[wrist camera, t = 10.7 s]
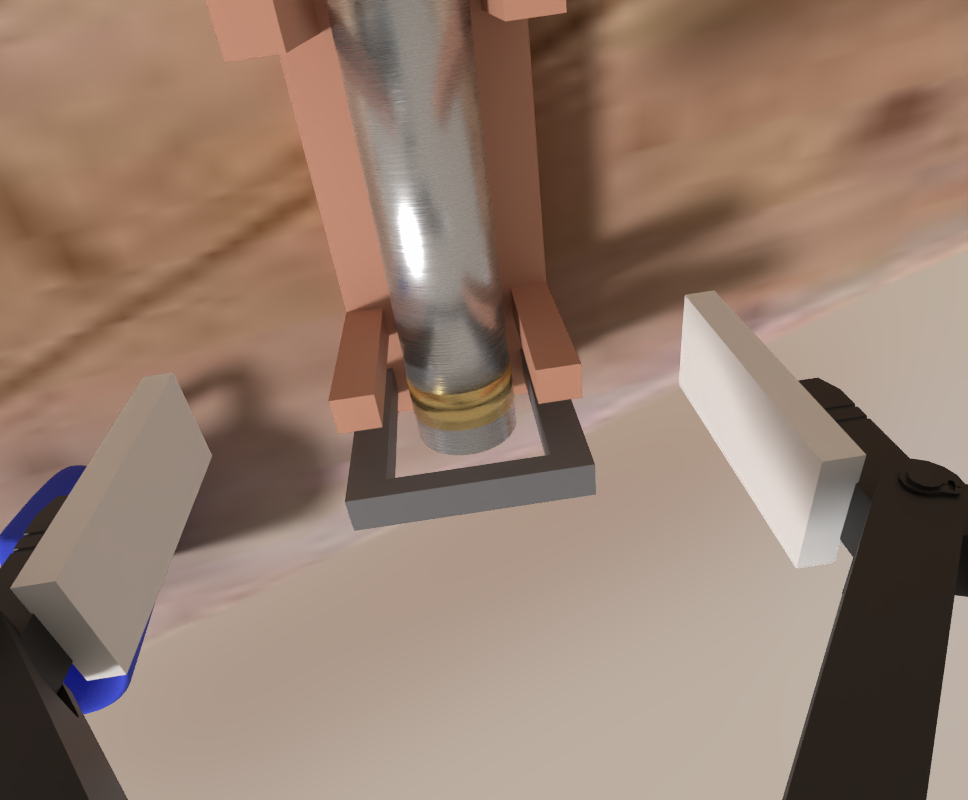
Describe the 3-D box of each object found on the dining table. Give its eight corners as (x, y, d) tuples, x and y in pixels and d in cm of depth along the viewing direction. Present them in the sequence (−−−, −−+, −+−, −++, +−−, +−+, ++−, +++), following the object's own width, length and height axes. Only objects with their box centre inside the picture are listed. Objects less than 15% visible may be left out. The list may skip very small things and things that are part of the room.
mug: (173, 427, 36) (102, 560, 28) (193, 574, 43) (139, 718, 34) (14, 416, 35) (-111, 553, 27) (59, 570, 42) (-31, 718, 33)
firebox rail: (225, -183, 23) (85, -299, 13) (505, -223, 23) (570, -366, 13) (375, 400, 37) (360, 551, 27) (549, 374, 37) (596, 515, 27)
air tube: (301, -33, 23) (337, -44, 19) (430, -50, 25) (489, -63, 21) (404, 417, 34) (441, 469, 30) (490, 386, 36) (535, 431, 32)
